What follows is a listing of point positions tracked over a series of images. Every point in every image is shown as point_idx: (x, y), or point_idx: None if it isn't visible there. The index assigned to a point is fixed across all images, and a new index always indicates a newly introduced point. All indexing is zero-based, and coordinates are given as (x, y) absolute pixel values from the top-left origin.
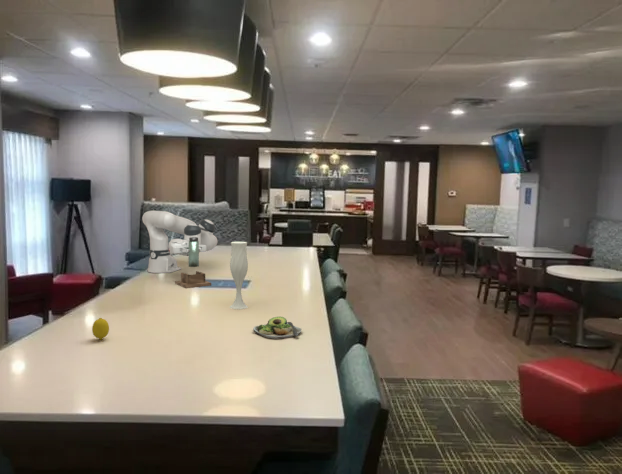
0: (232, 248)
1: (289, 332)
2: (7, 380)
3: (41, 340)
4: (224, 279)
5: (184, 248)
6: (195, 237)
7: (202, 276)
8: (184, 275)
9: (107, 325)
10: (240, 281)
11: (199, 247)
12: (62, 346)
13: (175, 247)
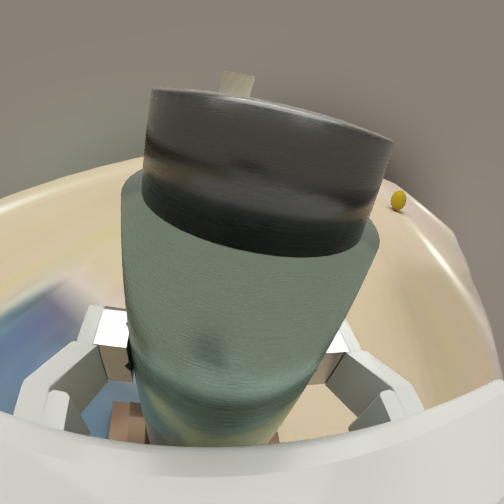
0: (251, 88)
1: None
2: (415, 199)
3: (440, 231)
4: None
5: (385, 376)
6: (196, 93)
7: None
8: None
9: (393, 194)
10: None
11: (47, 380)
12: (417, 215)
13: (497, 379)
